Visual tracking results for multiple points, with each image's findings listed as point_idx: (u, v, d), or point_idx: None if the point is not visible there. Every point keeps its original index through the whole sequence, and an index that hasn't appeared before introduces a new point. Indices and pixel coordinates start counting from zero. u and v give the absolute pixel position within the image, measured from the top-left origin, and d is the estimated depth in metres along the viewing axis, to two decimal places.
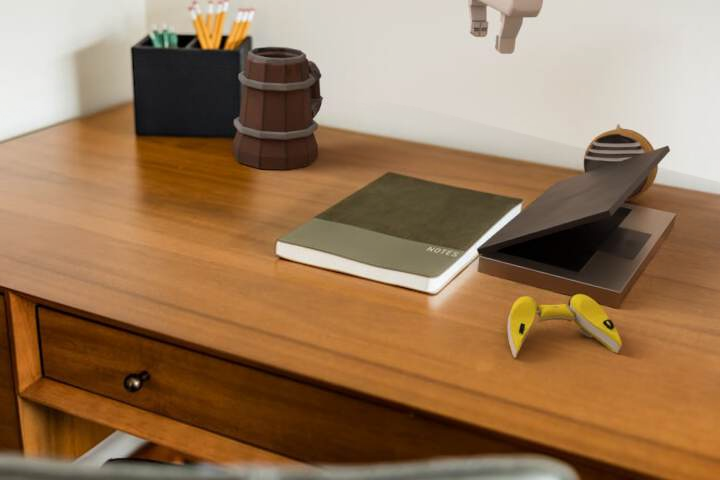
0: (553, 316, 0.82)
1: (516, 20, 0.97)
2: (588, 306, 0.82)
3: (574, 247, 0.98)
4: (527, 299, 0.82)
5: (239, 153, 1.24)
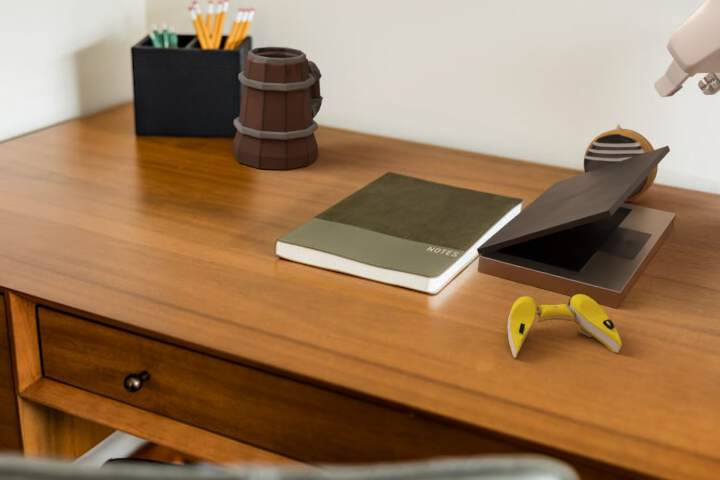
0: (553, 316, 0.82)
1: None
2: (588, 306, 0.82)
3: (574, 247, 0.98)
4: (527, 299, 0.82)
5: (239, 153, 1.24)
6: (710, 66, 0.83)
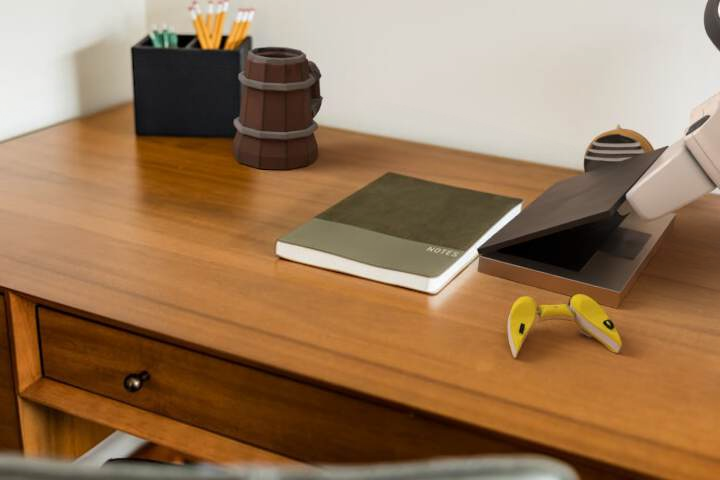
0: (553, 316, 0.82)
1: None
2: (588, 306, 0.82)
3: (574, 247, 0.98)
4: (527, 299, 0.82)
5: (239, 153, 1.24)
6: None
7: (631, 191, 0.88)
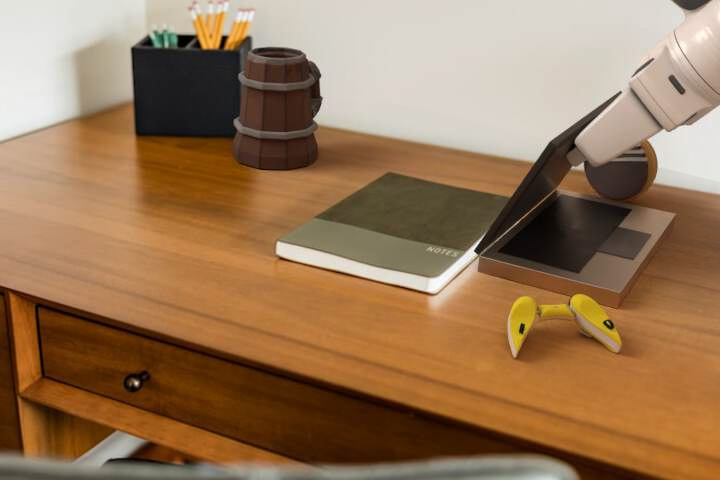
0: (553, 316, 0.82)
1: None
2: (588, 306, 0.82)
3: (574, 247, 0.98)
4: (527, 299, 0.82)
5: (239, 153, 1.24)
6: None
7: (579, 136, 0.88)
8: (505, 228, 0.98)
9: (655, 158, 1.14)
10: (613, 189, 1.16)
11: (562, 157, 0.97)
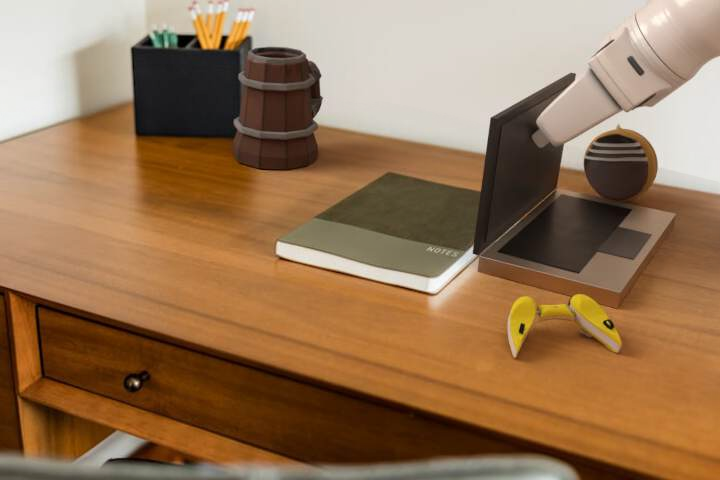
0: (553, 316, 0.82)
1: None
2: (588, 306, 0.82)
3: (574, 247, 0.98)
4: (527, 299, 0.82)
5: (239, 153, 1.24)
6: None
7: (540, 116, 0.90)
8: (498, 225, 0.98)
9: (655, 158, 1.14)
10: (613, 189, 1.16)
11: (526, 140, 0.99)
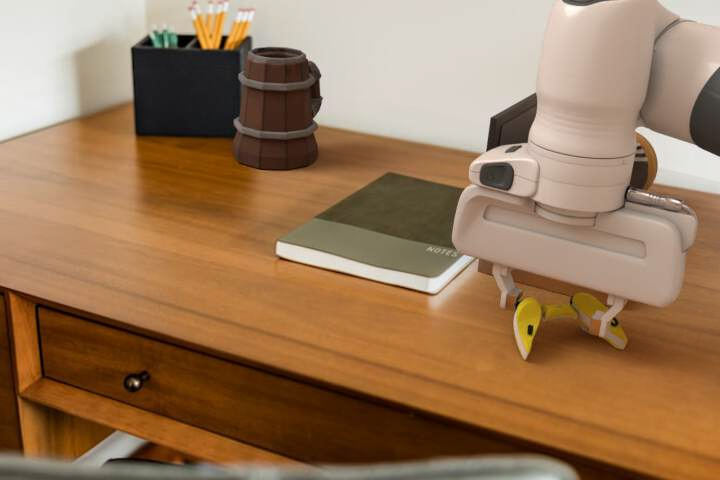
0: (557, 316, 0.82)
1: (627, 298, 0.78)
2: (591, 304, 0.83)
3: None
4: (531, 300, 0.82)
5: (239, 153, 1.24)
6: (485, 248, 0.81)
7: None
8: None
9: (655, 158, 1.14)
10: None
11: (525, 140, 0.99)
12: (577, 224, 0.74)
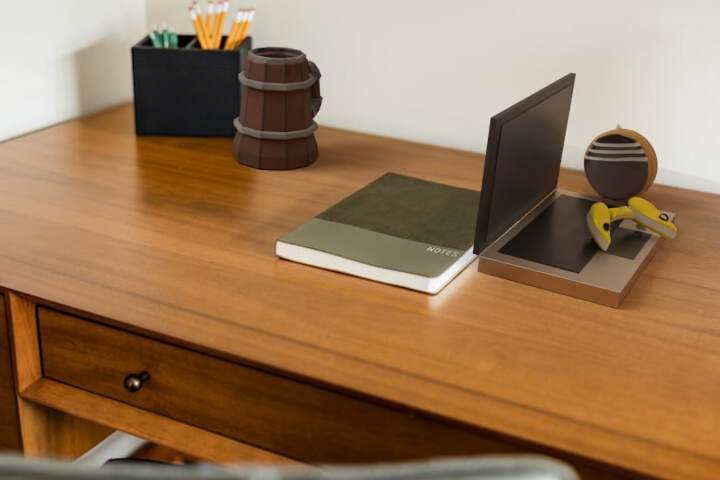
0: (620, 216, 1.01)
1: None
2: (644, 205, 1.02)
3: (574, 247, 0.98)
4: (601, 204, 1.00)
5: (239, 153, 1.24)
6: None
7: None
8: (498, 225, 0.98)
9: (655, 158, 1.14)
10: (613, 189, 1.16)
11: (525, 140, 0.99)
12: None
